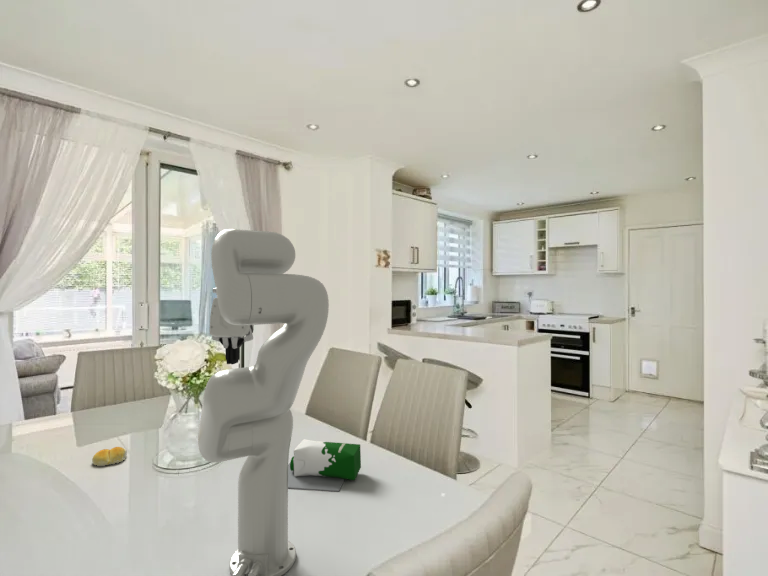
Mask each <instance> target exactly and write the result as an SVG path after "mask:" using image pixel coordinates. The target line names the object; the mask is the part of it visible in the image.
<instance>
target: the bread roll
mask: <svg viewBox="0 0 768 576" xmlns="http://www.w3.org/2000/svg"><path fill="white" fill-rule="evenodd" d="M127 454H128V451H127V450H126V448H124V447H122V446H114V447H113V448H111V449H107V448H104V449H101V450H99V451H97V452H96V453H95V454H94V455H93V456H92V459H91V460H92V464H93V466H96V465H97V467H105V465H107V466H110V465H111V464H113V465H116V464H115V463H117V464H119V462H120V463H122V462H124V461H125V460H126V459H127ZM125 458H126V459H125ZM123 460H124V461H123Z"/></svg>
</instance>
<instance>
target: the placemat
mask: <svg viewBox="0 0 768 576" xmlns="http://www.w3.org/2000/svg"><path fill="white" fill-rule="evenodd" d="M344 481H345V479H342V478H333V477H322V476H294V471H291V470H290V463H289V462H288V489H291V490H293V489H294V490H304V491H305V490H306V491H307V490H308V491H310V490H311V491H322V492H323V491H324V492H340V490H341V489H342V486H343V484H344Z"/></svg>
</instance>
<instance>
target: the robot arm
mask: <svg viewBox="0 0 768 576" xmlns="http://www.w3.org/2000/svg"><path fill="white" fill-rule="evenodd" d="M210 254H211V255H210V256H211V260H210V261H211V268H212V273H213V280H214V285H215V287H213V288H212V293H213V294H216V297H213V300H212V304H211V310H210V319H209V334H210V336H212V337H211V340H212V341H215V342H219V343H220V344H221V345H222V346H223V349H225V361H226V365H235V364H237V363H239V360H240V348H242V346H243V345H244V344H245V343H246V342H249V341H252V340H254V336H253V334H254V326H255V325H277V324H283V326H281V327H280V328H279V329H277V330H276V331H275V332H273V333H272V334H271V335H270V336H269V337H268V338H267V339H266V341H264V343H263V344H262V345H261V347H260V348H259V350H258V353H257V358H256V362H255V364H253V365H251V366H246V367H238V368H237V367H236V368H229V369H223V370H220V371H218V372H215V373H213V375H211V376H210V377H209V379H208V381H207V383H206V386H205V387H204V388H205V389H204V394H203V399H202V404H201V405H202V406H201V407H202V408H201V411H200V417H199V418H200V419H199V423H198V425H199V426H198V430H197V431H198V432H197V445H198V446H197V447H198V451H199V454H200V455H201V457H202V459H204V461H206V462H208V463H221V462H228V461H232V460H236V459H241V458H245V457H247V458H246V459H245V461H244V462H243V464H242V465H241V468H240V472H239V474H238V478H237V479H238V480H237V485H238V486H237V497H238V498H237V513H238V514H237V550H235V552H234V553H233V554H232V555H231V557H230V559H229V572H230V574H231V576H283V575H285V574H286V573H287V572H288V571H289V570H291V568H292V567H293V566H294V565H295V561H296V558H297V557H296V555H297V554H296V547H295V545H294V544H293V543H292V541H290V540H289V488H288V465H289V459H290V458H289V455H290V447H291V441H292V437H293V429H294V417H293V413H292V410H291V408H292V406H293V404H294V402H295V401H296V397H297V395H298V394H297V393H298V391H299V390H300V389H299V388H300V386H301V381H302V379H303V376H304V372H305V370H306V367H307V365H308V362H309V360H310V358H311V356H312V354H313V353H314V351H315V350H316V348H317V346H318V345H319V343H320V341H321V340H322V337H323V335H324V333H325V330H326V327H327V324H328V323H327V322H328V317H329V310H330V309H329V306H330V304H329V295H328V291H327V289H326V286H325V285H324V284H323V283H322V282H321V281H320V280H318V279H317V278H315V277H312V276H308V275H304V274H292V273H286V272H288V271H289V270H290V269H291V268H292V266H293V265H294V263H295V261H296V249H295V247H294V245H293V243H292V241H291V240H290V239H289V238H287V237H286V236H285V235H283V234H282V233H281V234H280V233H278V232H275V231H267V230H266V231H264V230H251V229H250V230H248V229H240V228H238V229H237V228H228V229H227V228H226V229H223V230H221V231H220V232H218V234H217V235H216V236H215V238H214V240H213V241H212V246H211V253H210Z"/></svg>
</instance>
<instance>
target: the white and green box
mask: <svg viewBox="0 0 768 576" xmlns="http://www.w3.org/2000/svg"><path fill="white" fill-rule="evenodd" d="M361 453H362V452H361V444H359V443H358V444H357V443H347V442H336V441H335V442H331V441H320V440H319V441H318V440H310V439H306V438H303V440H301V442H300V443H299V444H297V446H296V447H295V448H294V449H293V456H292V457H291V459H290V470H291V471H294V476H322V477H333V478H342V479H344V480H351V481H355V480H356V478H357V476H358V474H359V472H360V470H361V468H362V465H361V463H362V462H361V461H362V459H361V457H362V455H361Z"/></svg>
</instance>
